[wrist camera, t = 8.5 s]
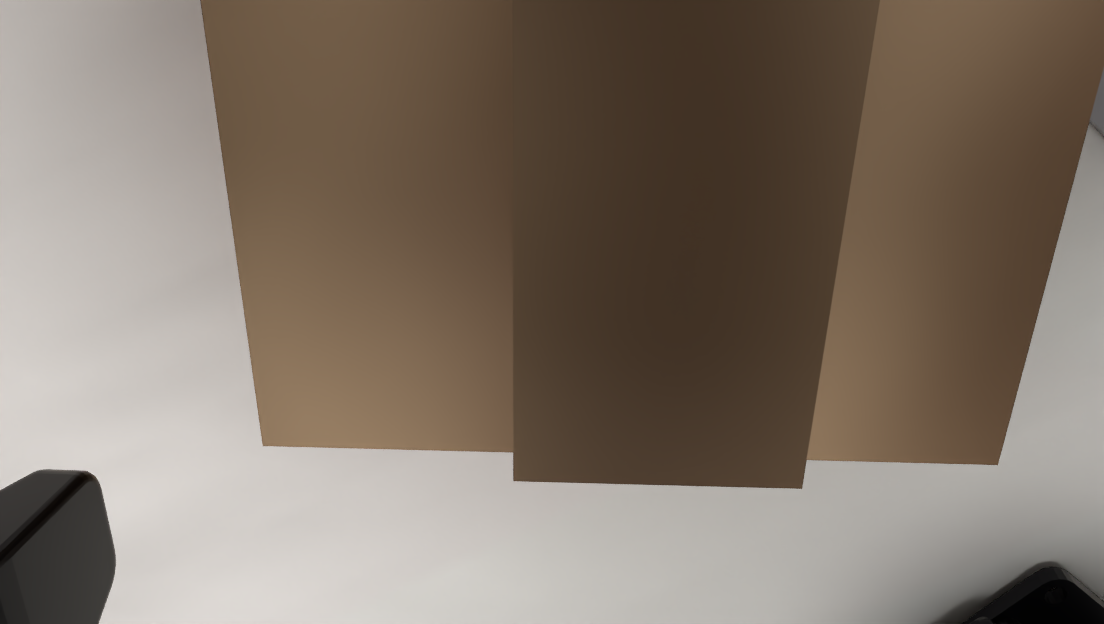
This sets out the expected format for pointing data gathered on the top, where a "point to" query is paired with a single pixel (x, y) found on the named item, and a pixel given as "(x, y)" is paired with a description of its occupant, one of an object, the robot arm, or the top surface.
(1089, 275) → the top surface
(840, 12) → the ridged wooden block
